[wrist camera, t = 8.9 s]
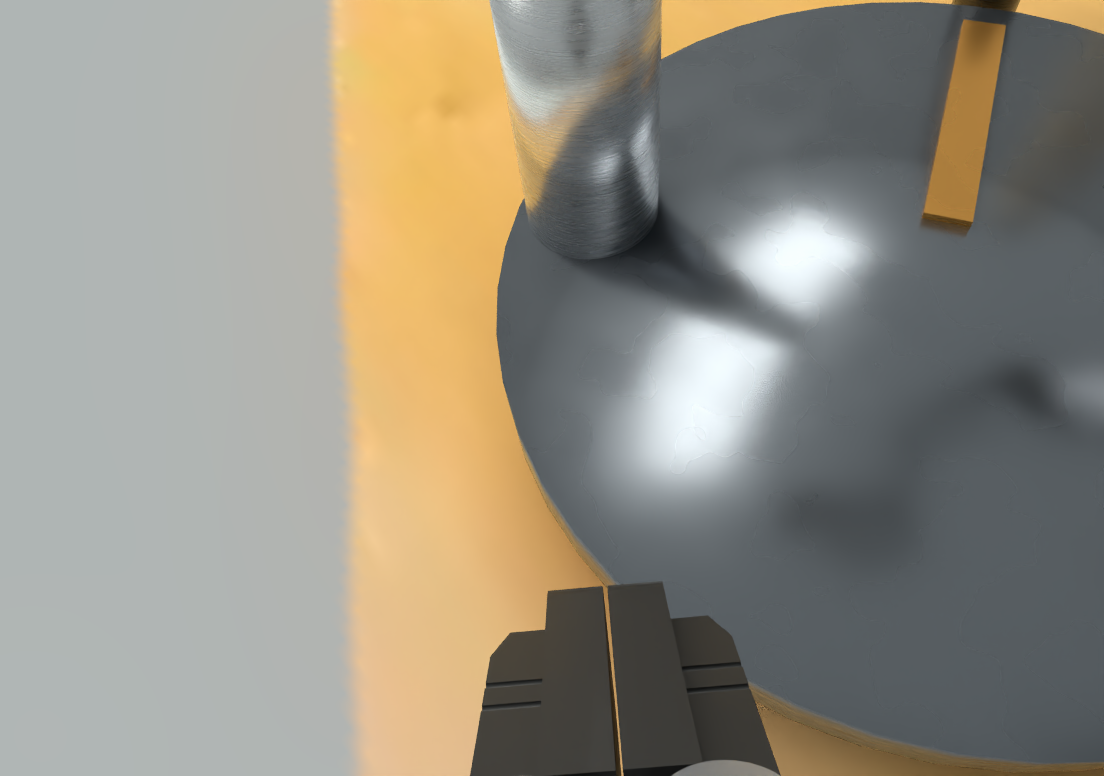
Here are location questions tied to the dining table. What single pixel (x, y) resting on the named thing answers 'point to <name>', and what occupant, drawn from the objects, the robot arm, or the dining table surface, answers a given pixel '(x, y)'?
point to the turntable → (828, 352)
